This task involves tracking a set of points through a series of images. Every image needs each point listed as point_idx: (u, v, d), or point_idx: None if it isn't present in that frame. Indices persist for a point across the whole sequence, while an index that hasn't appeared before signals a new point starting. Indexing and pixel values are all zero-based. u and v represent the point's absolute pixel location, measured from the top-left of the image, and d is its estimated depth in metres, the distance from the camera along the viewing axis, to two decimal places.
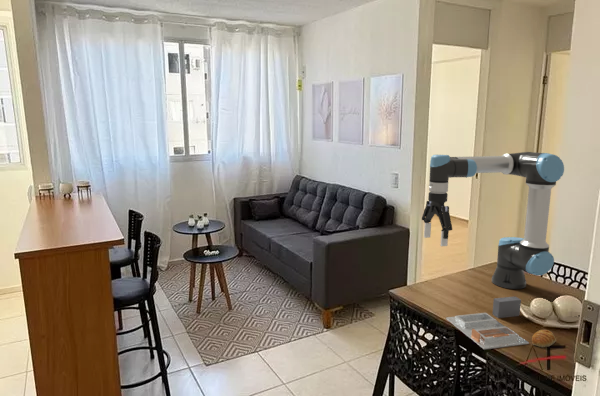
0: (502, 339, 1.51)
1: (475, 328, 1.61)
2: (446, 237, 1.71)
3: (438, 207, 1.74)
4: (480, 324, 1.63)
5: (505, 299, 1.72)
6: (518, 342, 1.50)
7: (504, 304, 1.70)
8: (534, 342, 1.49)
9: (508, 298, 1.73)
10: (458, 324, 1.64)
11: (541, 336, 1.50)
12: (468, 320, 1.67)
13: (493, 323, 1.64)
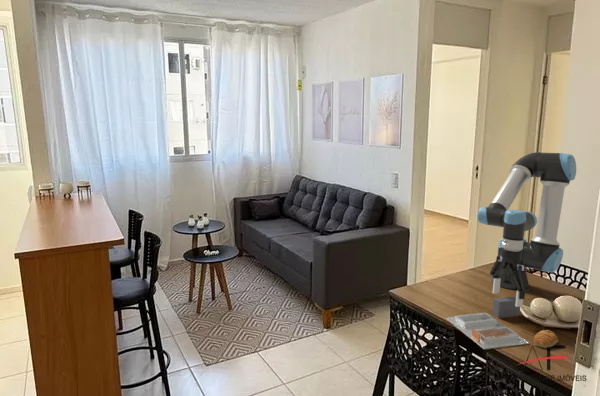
0: (502, 339, 1.51)
1: (475, 328, 1.61)
2: (522, 298, 1.63)
3: (513, 265, 1.67)
4: (480, 324, 1.63)
5: (505, 299, 1.72)
6: (518, 342, 1.50)
7: (504, 304, 1.70)
8: (537, 343, 1.49)
9: (508, 298, 1.73)
10: (458, 324, 1.64)
11: (544, 336, 1.50)
12: (468, 320, 1.67)
13: (493, 323, 1.64)
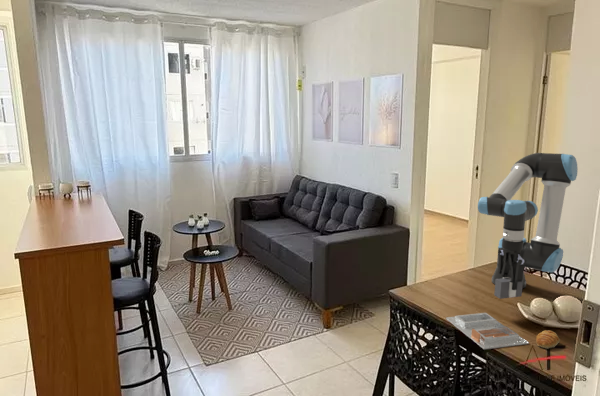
0: (502, 339, 1.51)
1: (475, 328, 1.61)
2: (515, 288, 1.68)
3: (514, 255, 1.66)
4: (480, 324, 1.63)
5: (506, 279, 1.71)
6: (518, 342, 1.50)
7: (505, 284, 1.69)
8: (539, 343, 1.48)
9: (510, 278, 1.72)
10: (458, 324, 1.64)
11: (546, 337, 1.49)
12: (468, 320, 1.67)
13: (493, 323, 1.64)
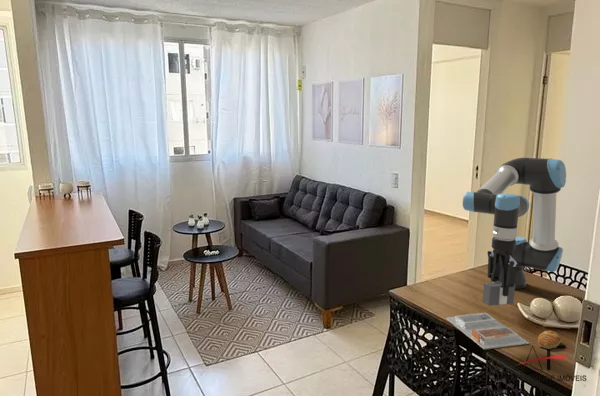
0: (502, 339, 1.51)
1: (475, 328, 1.61)
2: (506, 294, 1.48)
3: (505, 256, 1.46)
4: (480, 324, 1.63)
5: (496, 284, 1.50)
6: (518, 342, 1.50)
7: (495, 289, 1.49)
8: (541, 344, 1.48)
9: (500, 282, 1.52)
10: (458, 324, 1.64)
11: (548, 337, 1.49)
12: (468, 320, 1.67)
13: (493, 323, 1.64)
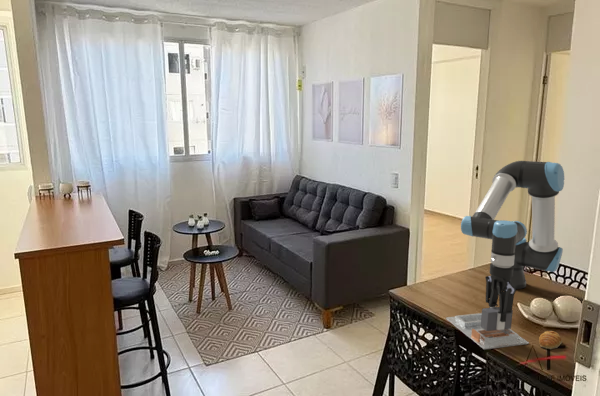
0: (502, 339, 1.51)
1: (475, 328, 1.61)
2: (503, 320, 1.49)
3: (503, 283, 1.48)
4: (480, 324, 1.63)
5: (494, 309, 1.52)
6: (518, 342, 1.50)
7: (493, 315, 1.50)
8: (542, 344, 1.48)
9: (498, 308, 1.53)
10: (458, 324, 1.64)
11: (549, 338, 1.49)
12: (468, 320, 1.67)
13: None
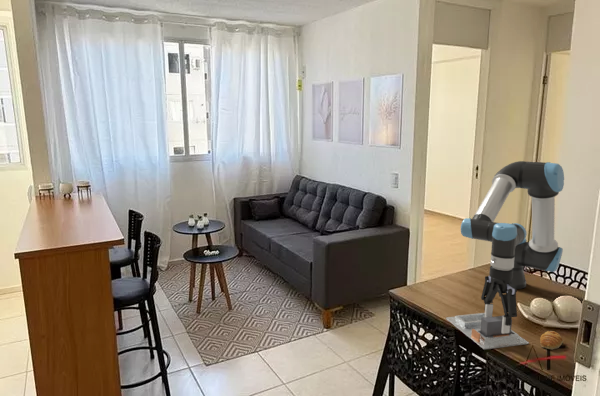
0: (502, 339, 1.51)
1: (475, 328, 1.61)
2: (509, 324, 1.47)
3: (502, 286, 1.48)
4: (480, 324, 1.63)
5: (494, 319, 1.53)
6: (518, 342, 1.50)
7: (492, 324, 1.51)
8: (544, 345, 1.47)
9: (498, 317, 1.54)
10: (458, 324, 1.64)
11: (550, 338, 1.49)
12: (468, 320, 1.67)
13: None
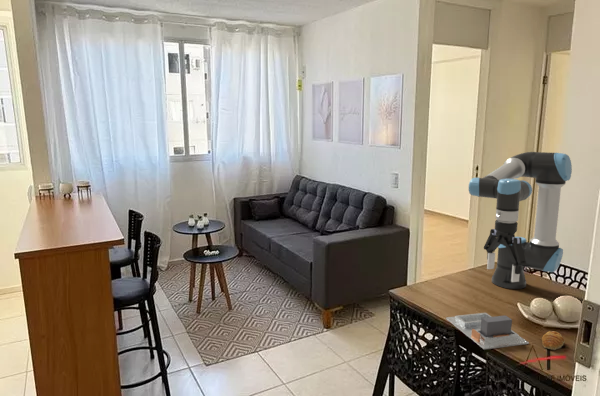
0: (502, 339, 1.51)
1: (475, 328, 1.61)
2: (518, 272, 1.52)
3: (507, 238, 1.55)
4: (480, 324, 1.63)
5: (494, 319, 1.53)
6: (518, 342, 1.50)
7: (492, 324, 1.51)
8: (546, 345, 1.47)
9: (498, 317, 1.54)
10: (458, 324, 1.64)
11: (552, 338, 1.48)
12: (468, 320, 1.67)
13: None
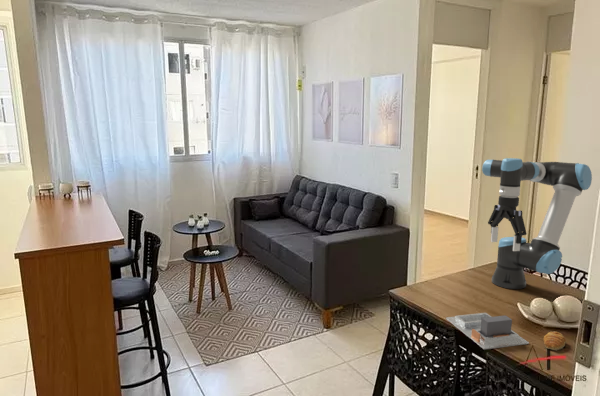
0: (502, 339, 1.51)
1: (475, 328, 1.61)
2: (519, 242, 1.69)
3: (510, 211, 1.72)
4: (480, 324, 1.63)
5: (494, 319, 1.53)
6: (518, 342, 1.50)
7: (492, 324, 1.51)
8: (548, 346, 1.47)
9: (498, 317, 1.54)
10: (458, 324, 1.64)
11: (554, 339, 1.48)
12: (468, 320, 1.67)
13: None
